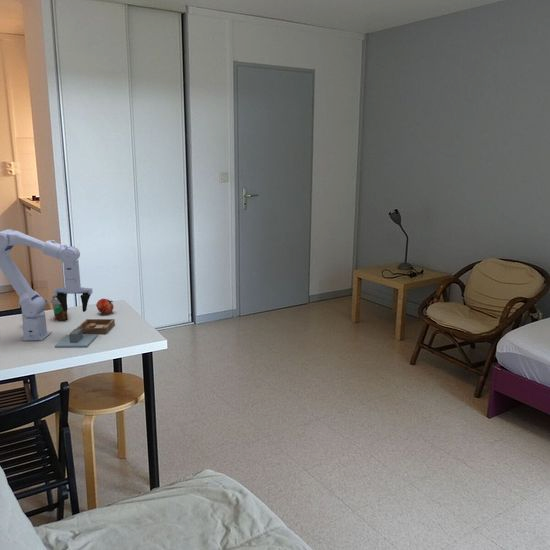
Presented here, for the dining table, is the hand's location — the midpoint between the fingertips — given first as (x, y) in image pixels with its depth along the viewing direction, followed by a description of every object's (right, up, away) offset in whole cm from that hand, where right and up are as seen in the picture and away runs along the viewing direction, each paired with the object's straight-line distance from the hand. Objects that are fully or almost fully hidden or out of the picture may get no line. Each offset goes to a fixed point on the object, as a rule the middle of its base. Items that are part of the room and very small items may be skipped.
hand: (75, 311), depth 211 cm
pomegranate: (+2, -4, +31) cm, 31 cm away
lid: (+2, -12, -4) cm, 13 cm away
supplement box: (-24, -7, +15) cm, 29 cm away
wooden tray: (+5, -8, +10) cm, 14 cm away
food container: (-16, -5, +24) cm, 30 cm away
